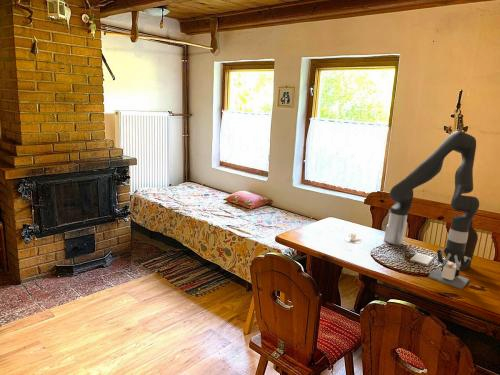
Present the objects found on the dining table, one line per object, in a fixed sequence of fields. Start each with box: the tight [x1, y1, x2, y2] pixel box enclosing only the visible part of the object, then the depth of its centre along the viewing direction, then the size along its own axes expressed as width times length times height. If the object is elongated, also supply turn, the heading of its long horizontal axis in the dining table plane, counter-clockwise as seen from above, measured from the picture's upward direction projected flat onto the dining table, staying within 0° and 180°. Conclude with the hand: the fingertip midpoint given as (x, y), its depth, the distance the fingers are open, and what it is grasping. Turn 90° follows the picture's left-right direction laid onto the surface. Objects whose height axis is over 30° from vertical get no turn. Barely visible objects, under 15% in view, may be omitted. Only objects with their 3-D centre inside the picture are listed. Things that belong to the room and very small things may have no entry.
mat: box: [428, 268, 470, 290], centre depth 169 cm, size 14×12×1 cm
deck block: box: [441, 260, 457, 281], centre depth 168 cm, size 9×4×5 cm, turn 138°
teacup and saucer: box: [344, 232, 362, 244], centre depth 208 cm, size 9×8×4 cm
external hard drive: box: [409, 252, 435, 267], centre depth 189 cm, size 2×8×12 cm
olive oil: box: [448, 217, 479, 270], centre depth 183 cm, size 11×11×25 cm
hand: (449, 274), depth 169 cm, fingers closed on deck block, 4 cm apart
